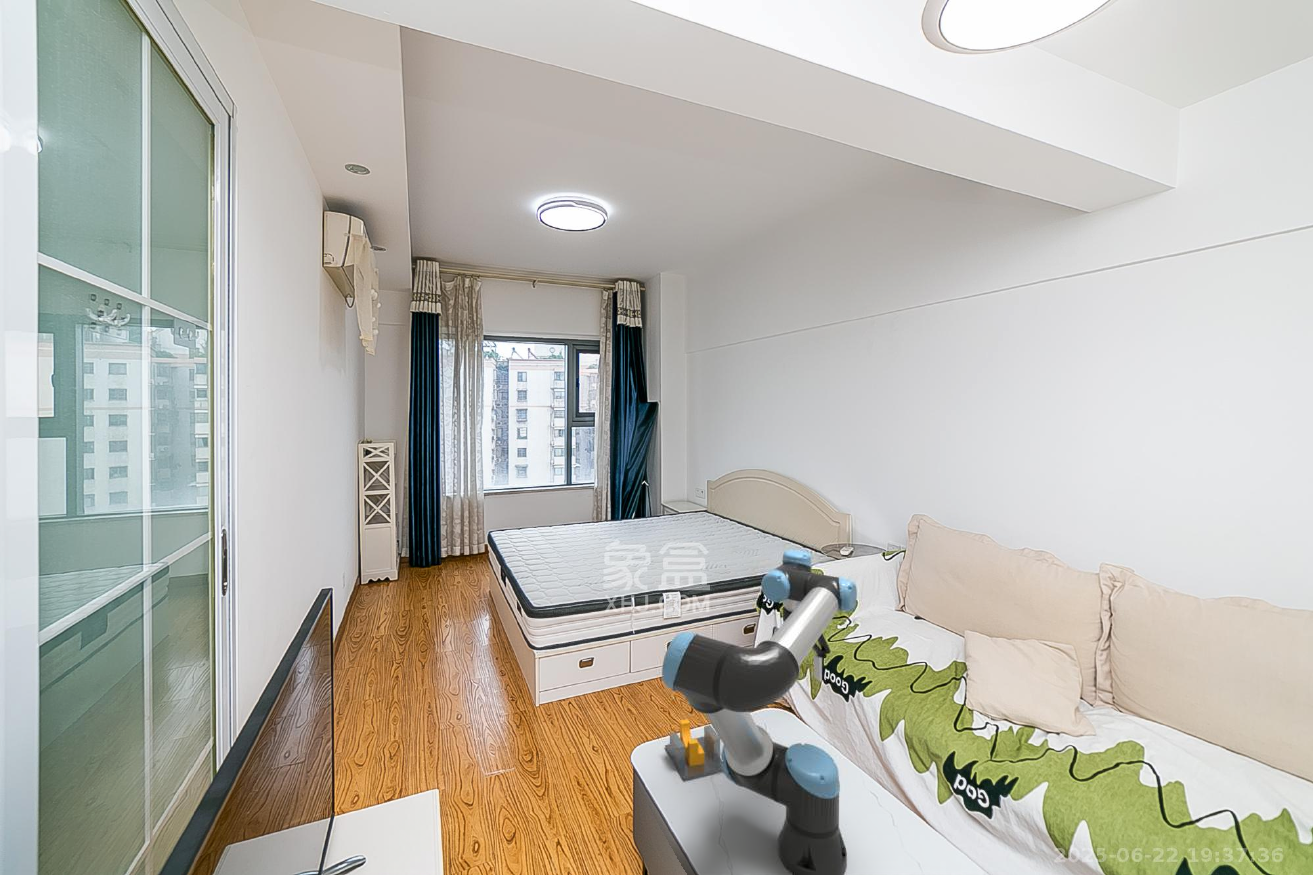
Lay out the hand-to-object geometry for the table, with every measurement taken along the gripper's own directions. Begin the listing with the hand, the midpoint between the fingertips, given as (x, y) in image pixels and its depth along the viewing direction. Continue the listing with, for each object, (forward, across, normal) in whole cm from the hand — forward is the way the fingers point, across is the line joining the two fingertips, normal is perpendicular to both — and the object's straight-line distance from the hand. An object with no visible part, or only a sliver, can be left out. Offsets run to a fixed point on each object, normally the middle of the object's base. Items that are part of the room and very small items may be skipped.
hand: (796, 683), depth 151 cm
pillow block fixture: (+27, +23, -17) cm, 39 cm away
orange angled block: (+26, +24, -19) cm, 40 cm away
